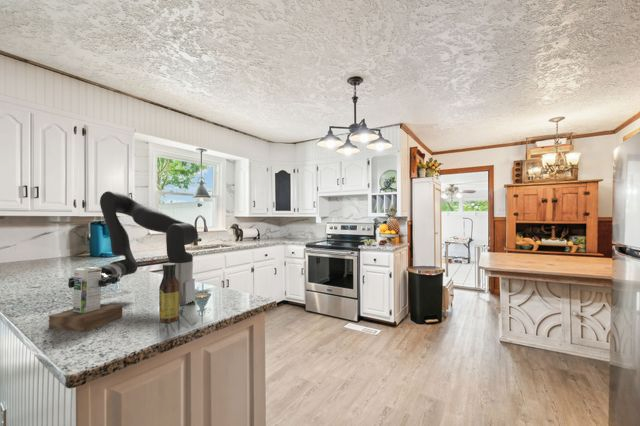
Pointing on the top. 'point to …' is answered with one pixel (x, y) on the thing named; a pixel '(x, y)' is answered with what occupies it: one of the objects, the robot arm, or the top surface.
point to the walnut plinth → (85, 318)
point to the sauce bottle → (169, 294)
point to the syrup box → (86, 289)
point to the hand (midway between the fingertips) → (85, 284)
